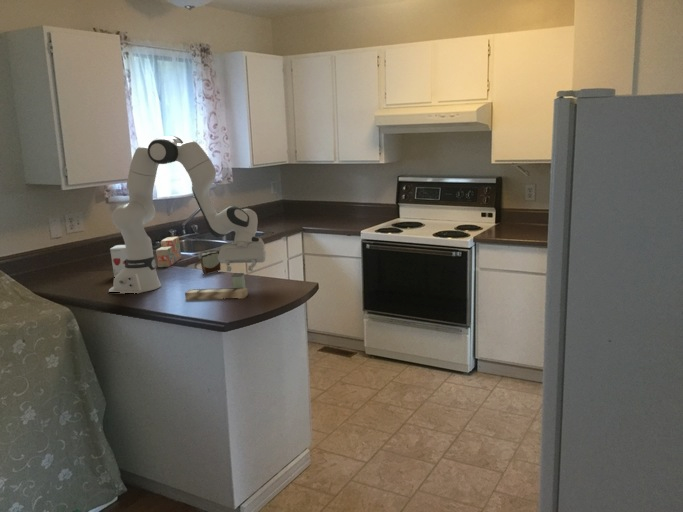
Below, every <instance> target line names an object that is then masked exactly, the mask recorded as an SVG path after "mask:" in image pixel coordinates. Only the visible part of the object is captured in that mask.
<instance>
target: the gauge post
mask: <svg viewBox="0 0 683 512" xmlns="http://www.w3.org/2000/svg"><path fill="white" fill-rule="evenodd" d="M231 280H232V288H246V281H245V273H244V272H238V273H237V272H235V273H233V274H232V275H231Z"/></svg>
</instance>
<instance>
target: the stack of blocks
mask: <svg viewBox="0 0 683 512" xmlns="http://www.w3.org/2000/svg"><path fill="white" fill-rule="evenodd" d="M160 245H161V246H160V247H158V248H157V249H156V250H155V253H156V262H157V268H166V267H171V266H172V265H173V264H175V263H176V262H177V261H179V260H181V259H183V258H182V252H181V243H180V236H168V237H165V238H163V239H162V240H160Z"/></svg>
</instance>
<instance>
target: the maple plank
mask: <svg viewBox="0 0 683 512" xmlns="http://www.w3.org/2000/svg"><path fill="white" fill-rule="evenodd" d="M184 295H185V298H184V299H185V301H188V300H189V301H192V300H195V299H199V300H226V299H225V298H238V299H245V298H246V297H247V296H248V295H249V291H248V287H245V288H233V287H230V288H229V287H228V288H227V287H225V288H193V289H191V288H190V289H188V290H186V291H185V292H184ZM223 298H224V299H223ZM195 301H196V300H195Z"/></svg>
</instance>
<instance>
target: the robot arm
mask: <svg viewBox="0 0 683 512" xmlns="http://www.w3.org/2000/svg"><path fill="white" fill-rule="evenodd" d="M174 162H179V163H180V164H181V165H182V167H183V168H184V170H185V171H186V173H187V174H188V176H189V178H190V182H191V191H192V194H193V197H194V199H195V201H196V203H197V205H198V207H199V209H200V212H201V214H202V216H203V218H204V221H205V225H206V228H207V230H208V232H209V234H211V235H212V236H213V237H215V238H219V239H222V238H224V237H226V236H227V235H228V234H230V233H231V232H234V233H235V235H234V239H233V242H231V243H230V242H229V243H226V242H225V243H224V244H222V245H221V246H220V248H219V250H220V252H219V255H218V260H219V261H220V264H225V265H226V271H227V272H231V271H232V270H233V269H232V266H231V265H230V264H249V263H250V264H251V265H248V268H247V269H248V271H249V272H253V270H254V268H255V266H256V265H257V263H258V264H259V263H261V264H262V263H264V262H265V261H266V258H267V257H266V256H267V255H266V250H265V249H266V247H265V242H264V241H263V239H262V238H261V237H259V236H258V237H257V236H256V233H257V230H258V223H259V221H258V215H257V213H256V211H254V210H253V209H251V208H243V209H242V208H241V207H239V206H235V205H231V206H228V207H227V208H225V209H222V211H220V212H217V211H216V208H215V206H214V203H213V202H212V198H211V196H210V189H211V187H212V185H213V183H214V181H215V180H216V176H217V171H216V170H217V169H216V168H215V166H214V164H213V162H212V160H211V158H210V157H209V156H208V154H207V153H206V152H205V150H204V149H203V148H202V146H201V145H200V144H199V143H198V142H197V141H194V140H188V141H185V142H184V141H183V140H182V139H181V138H179V137H178V136H175V135H168V136H167V135H165V136H161V137H159V138H155V139H153V140H151V142H149V144H148V146H146V145H142V146H139V147H137V148H136V149H135V151H134V154H133V156H132V158H131V162H130V165H129V169H128V175H127V176H128V177H127V181H126V185H125V186H126V190H128V198H129V199H128V202H127V203H123V204H121V205H119V206H117V207H116V208H115V209H113V211H112V213H111V222H112V224H113V225H114V227H116V229H118V230H119V232H120V234H121V236H122V239H123V242H124V245H125V247H126V253H127V259H126V260H125V261H123V264H125V268H124V269H123V270H121V271H120V272H119V273H118V274H117V275H116V276H115V278H114V277H113V283H112V285H113V286H111V287H110V288H109V289H108V293H109V292H120V293H119V294H125V293H134V294H135V293H137V294H140V293H145V292H149V291H153V290H157V289H160V288H161V287H162V283H161V282H160V279H159V276H158V273H157V269H156V268H157V267H156V266H157V265H156V259H155V255H154V252H153V251H154V250H153V245H152V244H153V243H152V239H151V237H150V236H149V235H148V233H147V232H146V230H145V227H144V225H146V224H148V223H150V222H151V221H152V220H153V219H154V217H155V216H156V208H155V205H154V198H153V197H154V194H153V193H154V187H155V182H156V178H157V174H158V173H157V172H158V167H159V166H160V165H166V164H172V163H174ZM134 294H133V295H134ZM135 295H136V294H135Z"/></svg>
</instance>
